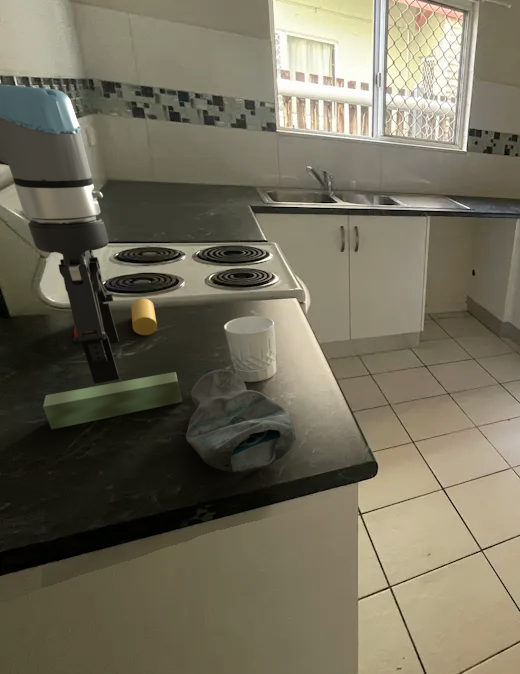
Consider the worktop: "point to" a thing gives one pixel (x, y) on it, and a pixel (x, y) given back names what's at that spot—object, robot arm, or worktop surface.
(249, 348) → the white cup
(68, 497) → the worktop surface
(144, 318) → the yellow rod
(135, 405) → the green bar
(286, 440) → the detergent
